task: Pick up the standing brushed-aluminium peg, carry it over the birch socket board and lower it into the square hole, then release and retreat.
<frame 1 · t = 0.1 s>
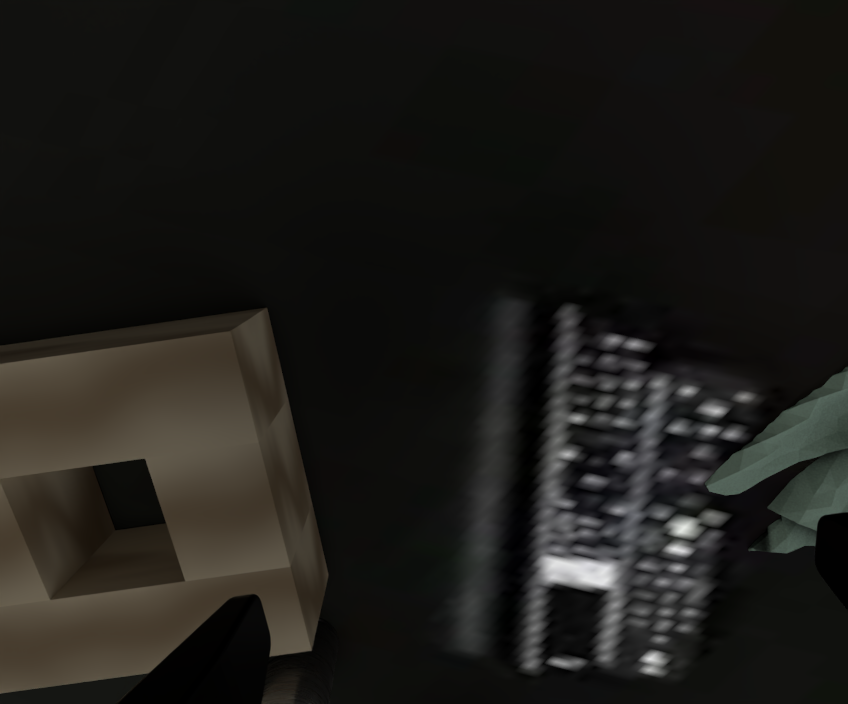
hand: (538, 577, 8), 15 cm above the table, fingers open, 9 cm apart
peg: (306, 641, 26), on the table
socket board: (154, 472, 23), on the table
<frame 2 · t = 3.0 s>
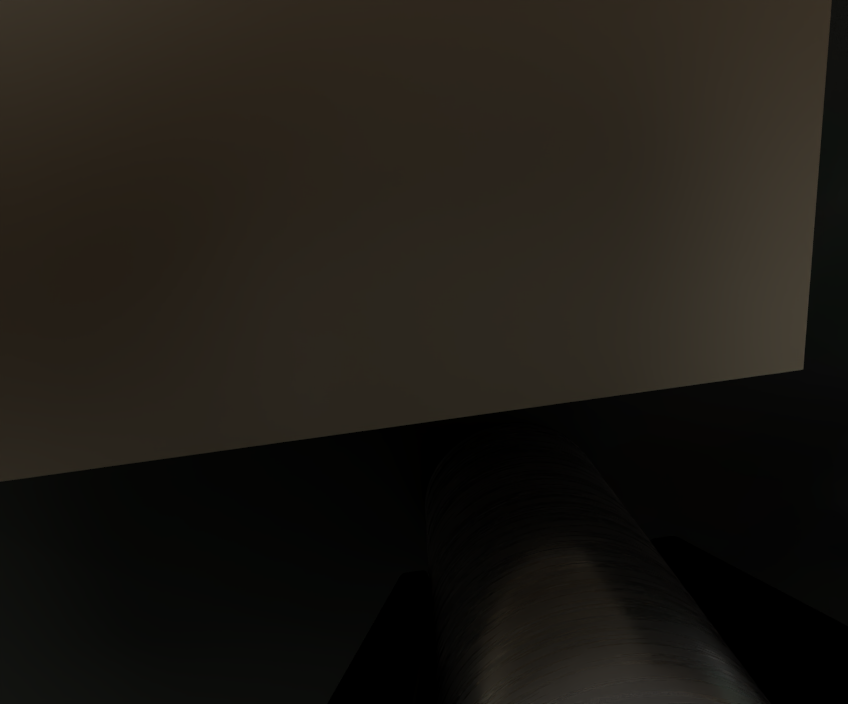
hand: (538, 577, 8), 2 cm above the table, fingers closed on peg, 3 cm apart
peg: (512, 504, 10), on the table, touching gripper
when the fingers open (5 cm above the table, at t = 6.6 s): peg drops 3 cm, resting in socket board.
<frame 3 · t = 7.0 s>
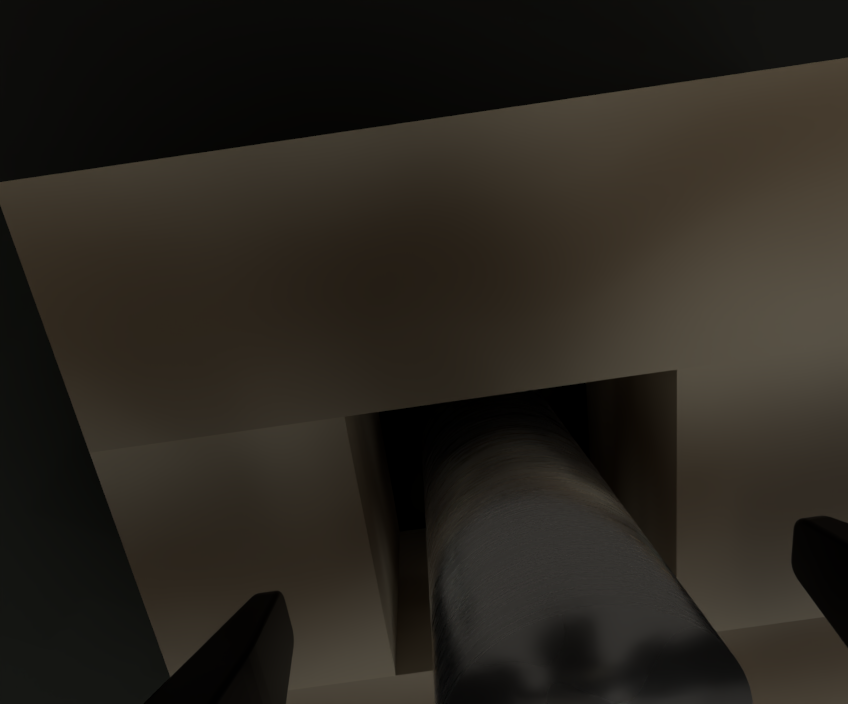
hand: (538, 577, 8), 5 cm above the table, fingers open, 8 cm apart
peg: (485, 430, 13), resting in socket board
socket board: (485, 429, 13), on the table
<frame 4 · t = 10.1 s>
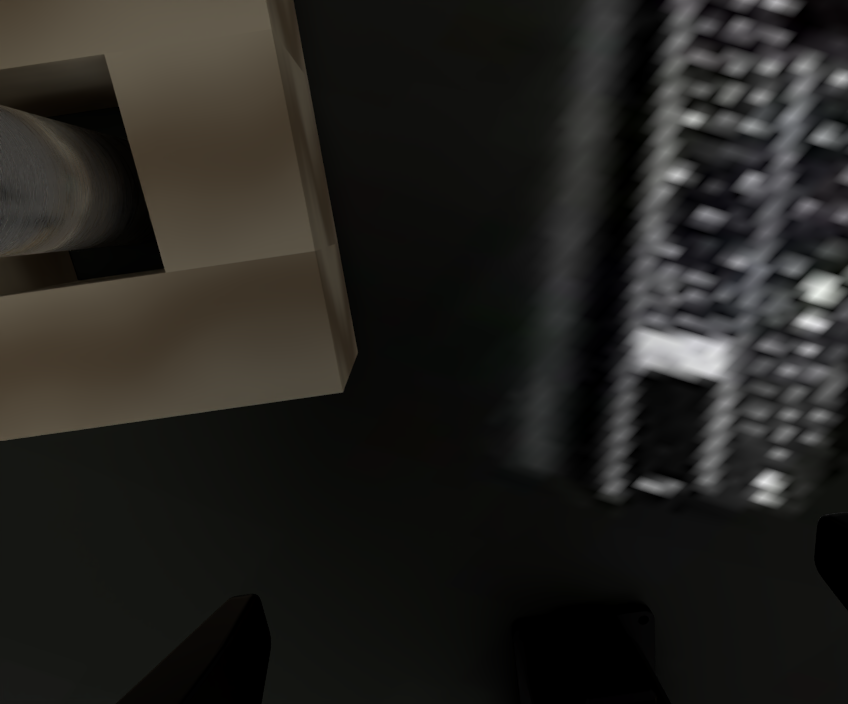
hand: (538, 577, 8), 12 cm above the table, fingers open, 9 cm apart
peg: (129, 193, 17), resting in socket board
socket board: (128, 192, 17), on the table
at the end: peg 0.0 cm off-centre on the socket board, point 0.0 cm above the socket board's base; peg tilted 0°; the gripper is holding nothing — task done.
